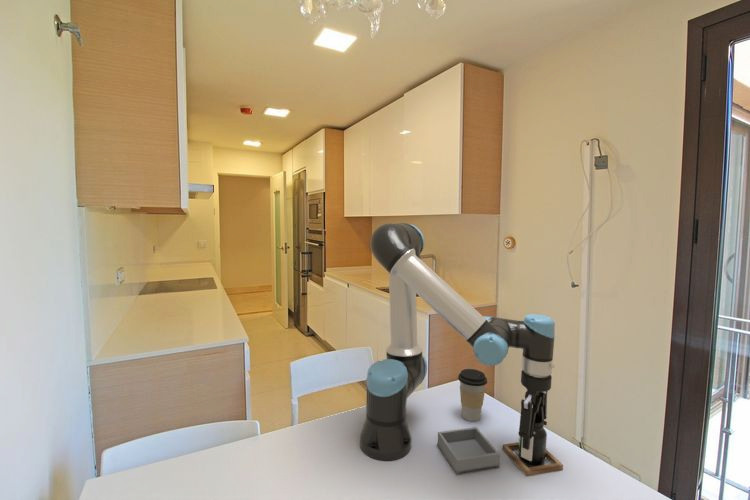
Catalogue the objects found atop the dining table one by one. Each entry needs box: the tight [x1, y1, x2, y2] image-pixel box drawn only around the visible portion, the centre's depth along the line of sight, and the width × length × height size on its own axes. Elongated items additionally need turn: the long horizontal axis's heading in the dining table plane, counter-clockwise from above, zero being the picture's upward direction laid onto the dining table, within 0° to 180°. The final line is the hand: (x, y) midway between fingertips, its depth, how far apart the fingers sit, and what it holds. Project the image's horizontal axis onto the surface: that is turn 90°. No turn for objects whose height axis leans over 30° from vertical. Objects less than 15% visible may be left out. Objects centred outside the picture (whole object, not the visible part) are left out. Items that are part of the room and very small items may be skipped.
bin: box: [437, 426, 501, 476], centre depth 99 cm, size 12×12×4 cm
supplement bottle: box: [517, 415, 548, 467], centre depth 98 cm, size 7×7×12 cm
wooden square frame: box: [501, 441, 564, 477], centre depth 99 cm, size 11×11×2 cm
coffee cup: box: [457, 368, 488, 422], centre depth 119 cm, size 9×9×15 cm
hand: (531, 451), depth 98 cm, fingers closed on supplement bottle, 7 cm apart
